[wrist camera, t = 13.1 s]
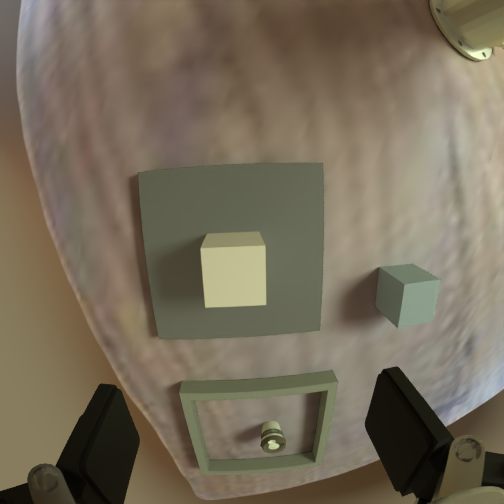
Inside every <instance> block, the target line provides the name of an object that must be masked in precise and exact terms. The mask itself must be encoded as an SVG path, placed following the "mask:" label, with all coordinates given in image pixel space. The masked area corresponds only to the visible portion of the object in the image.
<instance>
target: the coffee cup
mask: <svg viewBox="0 0 504 504" xmlns="http://www.w3.org/2000/svg"><path fill="white" fill-rule="evenodd" d="M285 445H286V441H285V438H284V436H283V433H282V431H281V429H280V427H279V424H278V423H277V422H276V421H267V422H265V423H264V424H263V425H262V435H261V445H260V446H261V447H262V449H263V450H264V451H265V452H267V453H277V452H280V451H282V450H283V449H284V448H285Z"/></svg>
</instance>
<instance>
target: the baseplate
mask: <svg viewBox="0 0 504 504" xmlns="http://www.w3.org/2000/svg"><path fill="white" fill-rule="evenodd" d="M138 182H139V197H140V209H141V221H142V231H143V240H144V249H145V257H146V264H147V272H148V279H149V285H150V292H151V298H152V304H153V310H154V315H155V321H156V326H157V331H158V336H159V339H204V338H230V337H249V336H264V335H277V334H289V333H300V332H310V331H319V330H320V320H321V303H322V282H323V251H324V174H323V163H256V164H231V165H213V166H198V167H186V168H174V169H164V170H154V171H145V172H138ZM258 231H259V233H260V235H261V237H262V239H263V241H264V243H265V248H266V305H257V306H236V307H210V308H205V299H204V287H203V275H202V263H201V249H200V248H201V246H202V244H203V241H204V239H205V237H206V235H207V234H210V233H232V232H258Z"/></svg>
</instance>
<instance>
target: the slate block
mask: <svg viewBox="0 0 504 504" xmlns="http://www.w3.org/2000/svg"><path fill="white" fill-rule="evenodd" d="M440 282H441V279H439V278H438V277H436V276H434V275H432V274H430V273H429V272H427V271H425V270H423V269H421V268H420V267H418V266H416V265H414V264H406V265H395V266H384V267H379V274H378V284H377V294H376V303H375V307H376V308H378V309H379V310H380V311H381V312H382V313H383V314H384V315H385V316H386V317H387V318H388V319H389V320H390V321H391V322H392V323H393V324H394V325H395V326H396V327H397V328H403V327H408V326H413V325H418V324H423V323H427V322H432V321H433V320H434V315H435V310H436V305H437V299H438V294H439V288H440Z"/></svg>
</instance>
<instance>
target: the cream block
mask: <svg viewBox="0 0 504 504" xmlns="http://www.w3.org/2000/svg"><path fill="white" fill-rule="evenodd" d="M200 249H201V263H202V275H203V287H204V299H205V308H210V307H236V306H257V305H266V248H265V243H264V241H263V239H262V237H261V235H260V233H259V231H258V232H232V233H210V234H207V235H206V237H205V239H204V241H203V244H202V246H201V248H200Z"/></svg>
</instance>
